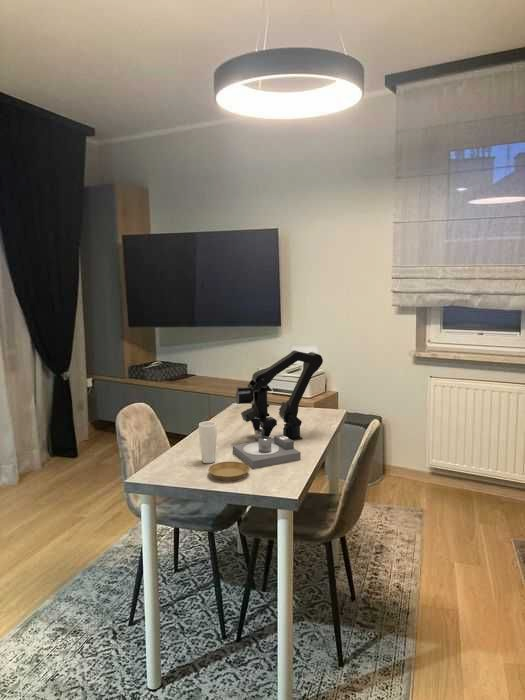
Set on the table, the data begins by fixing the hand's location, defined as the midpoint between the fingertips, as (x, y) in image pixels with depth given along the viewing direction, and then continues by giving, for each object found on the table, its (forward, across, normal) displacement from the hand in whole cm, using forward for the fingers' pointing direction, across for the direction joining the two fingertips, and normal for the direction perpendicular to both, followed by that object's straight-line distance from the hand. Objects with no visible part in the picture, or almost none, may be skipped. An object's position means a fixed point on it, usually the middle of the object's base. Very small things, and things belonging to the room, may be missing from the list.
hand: (261, 437), depth 225 cm
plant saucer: (+2, +28, -26) cm, 38 cm away
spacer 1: (+2, 0, 0) cm, 2 cm away
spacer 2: (-2, +20, -8) cm, 22 cm away
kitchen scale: (+2, +17, -6) cm, 18 cm away
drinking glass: (+2, +12, -28) cm, 31 cm away
